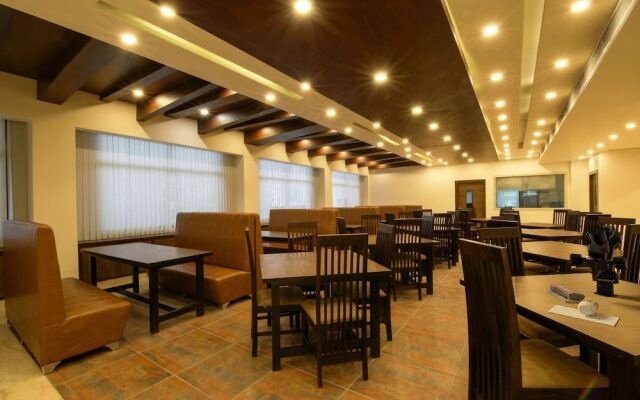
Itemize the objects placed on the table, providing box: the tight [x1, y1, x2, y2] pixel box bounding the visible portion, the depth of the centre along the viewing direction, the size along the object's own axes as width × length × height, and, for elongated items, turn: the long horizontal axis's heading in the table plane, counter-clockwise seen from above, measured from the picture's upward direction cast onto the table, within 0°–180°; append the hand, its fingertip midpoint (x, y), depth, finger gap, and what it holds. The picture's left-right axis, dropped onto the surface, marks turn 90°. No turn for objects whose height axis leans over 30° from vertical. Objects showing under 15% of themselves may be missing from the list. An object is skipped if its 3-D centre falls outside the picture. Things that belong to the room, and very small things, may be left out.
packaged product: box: [545, 283, 586, 304], centre depth 144 cm, size 18×5×10 cm
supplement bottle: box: [577, 297, 600, 315], centre depth 122 cm, size 5×5×10 cm
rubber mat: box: [547, 304, 620, 327], centre depth 122 cm, size 12×20×1 cm, turn 39°
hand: (595, 276), depth 133 cm, fingers closed
